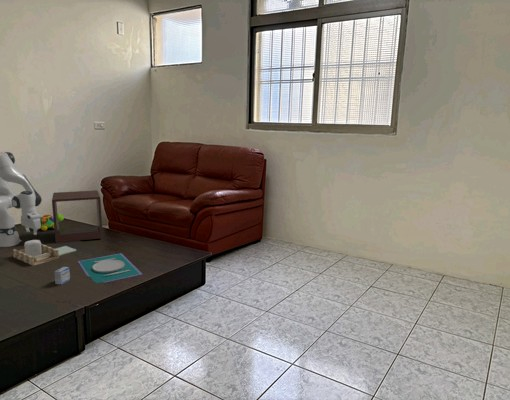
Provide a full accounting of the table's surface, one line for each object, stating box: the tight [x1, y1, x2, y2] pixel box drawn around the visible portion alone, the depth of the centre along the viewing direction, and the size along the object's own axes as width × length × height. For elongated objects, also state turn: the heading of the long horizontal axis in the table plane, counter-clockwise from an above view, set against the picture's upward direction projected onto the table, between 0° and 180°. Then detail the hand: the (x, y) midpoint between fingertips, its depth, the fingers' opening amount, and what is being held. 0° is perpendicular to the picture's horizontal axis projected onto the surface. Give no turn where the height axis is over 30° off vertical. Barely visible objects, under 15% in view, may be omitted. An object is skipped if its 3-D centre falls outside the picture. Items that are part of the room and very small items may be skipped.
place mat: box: [77, 252, 143, 284], centre depth 255 cm, size 45×30×2 cm
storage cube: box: [51, 189, 104, 244], centre depth 316 cm, size 35×29×35 cm
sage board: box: [55, 245, 77, 257], centre depth 282 cm, size 14×14×1 cm
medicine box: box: [53, 266, 71, 286], centre depth 230 cm, size 8×4×9 cm, turn 170°
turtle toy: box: [40, 212, 65, 231], centre depth 338 cm, size 17×23×12 cm
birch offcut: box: [34, 253, 50, 261], centre depth 264 cm, size 4×10×2 cm, turn 155°
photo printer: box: [23, 239, 43, 257], centre depth 269 cm, size 10×4×12 cm, turn 123°
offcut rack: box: [12, 243, 60, 266], centre depth 268 cm, size 26×18×6 cm
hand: (31, 233), depth 266 cm, fingers open, 8 cm apart
